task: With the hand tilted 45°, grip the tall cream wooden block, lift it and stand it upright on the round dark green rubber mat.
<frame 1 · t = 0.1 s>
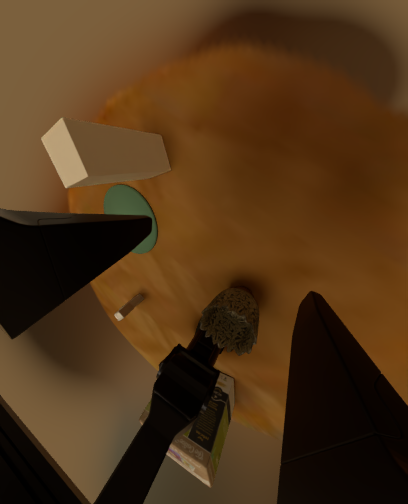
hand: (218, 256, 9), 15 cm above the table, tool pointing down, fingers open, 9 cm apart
tea box: (207, 375, 44), on the table
cream block: (154, 158, 25), on the table
lighter: (141, 296, 43), on the table
green mat: (130, 221, 33), on the table
dark grey rounded piece: (243, 292, 28), on the table
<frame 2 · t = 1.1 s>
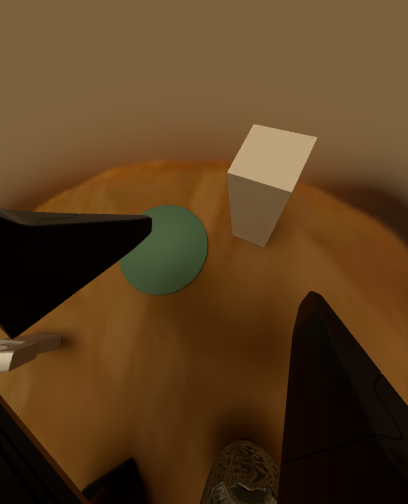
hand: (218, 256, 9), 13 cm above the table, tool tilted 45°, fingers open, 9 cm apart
cream block: (255, 227, 23), on the table
lighter: (58, 341, 24), on the table
green mat: (162, 247, 25), on the table
dark grey rounded piece: (246, 455, 17), on the table
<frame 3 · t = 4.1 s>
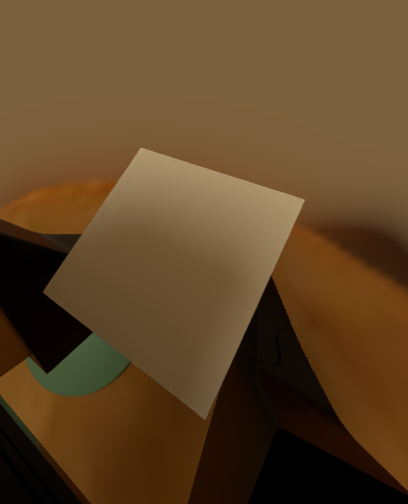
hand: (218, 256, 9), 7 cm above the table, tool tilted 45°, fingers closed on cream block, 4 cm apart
cream block: (218, 289, 15), on the table, touching gripper
green mat: (85, 313, 17), on the table
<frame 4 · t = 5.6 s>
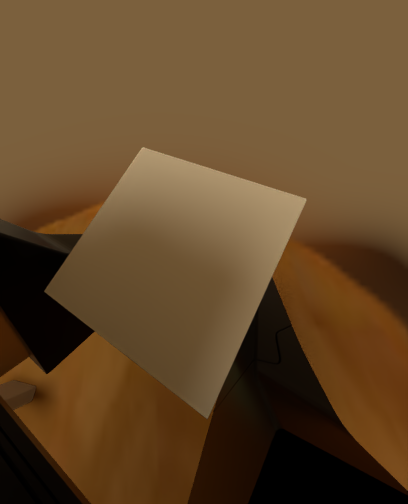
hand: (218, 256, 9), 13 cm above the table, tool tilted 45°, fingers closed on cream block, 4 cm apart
cream block: (219, 289, 15), point 7 cm above the table, touching gripper
lighter: (32, 392, 23), on the table
when the fingers open (8 cm above the table, at t = 7.6 s): cream block drops 1 cm, resting on green mat.
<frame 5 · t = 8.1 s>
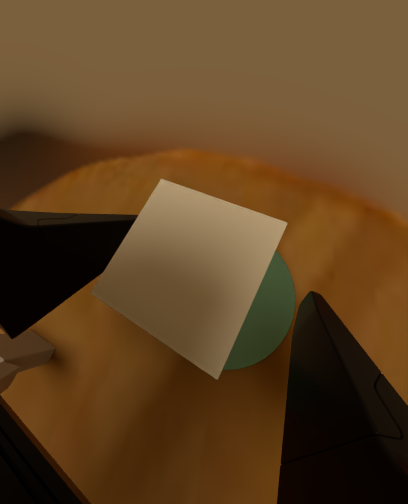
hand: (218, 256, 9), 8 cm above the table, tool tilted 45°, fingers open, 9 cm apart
cream block: (221, 290, 16), resting on green mat
lighter: (49, 352, 18), on the table
green mat: (220, 290, 17), on the table
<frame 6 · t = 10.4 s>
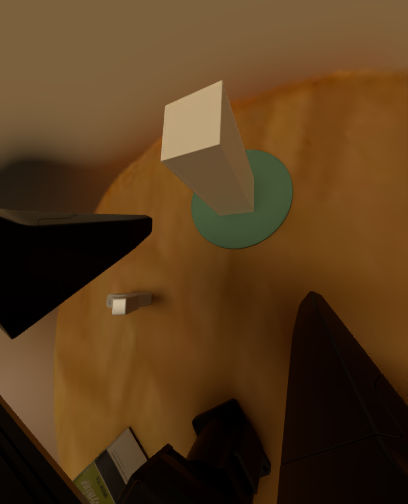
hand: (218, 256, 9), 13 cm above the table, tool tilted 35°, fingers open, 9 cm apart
cream block: (236, 197, 22), resting on green mat
lighter: (149, 298, 27), on the table
green mat: (236, 199, 23), on the table
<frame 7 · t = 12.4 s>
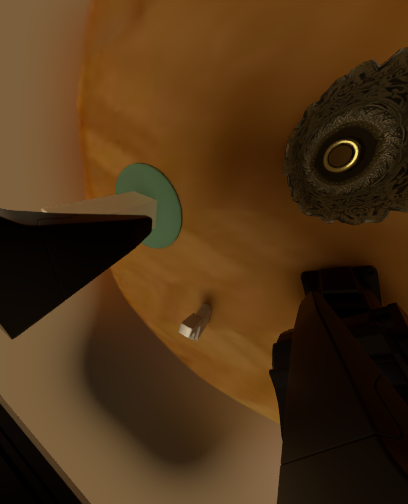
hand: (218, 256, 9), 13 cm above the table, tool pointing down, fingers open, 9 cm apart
cream block: (145, 209, 27), resting on green mat
lighter: (207, 306, 31), on the table
green mat: (147, 209, 28), on the table
dark grey rounded piece: (339, 156, 15), on the table
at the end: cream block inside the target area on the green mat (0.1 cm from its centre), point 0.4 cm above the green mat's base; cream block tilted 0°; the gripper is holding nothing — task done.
